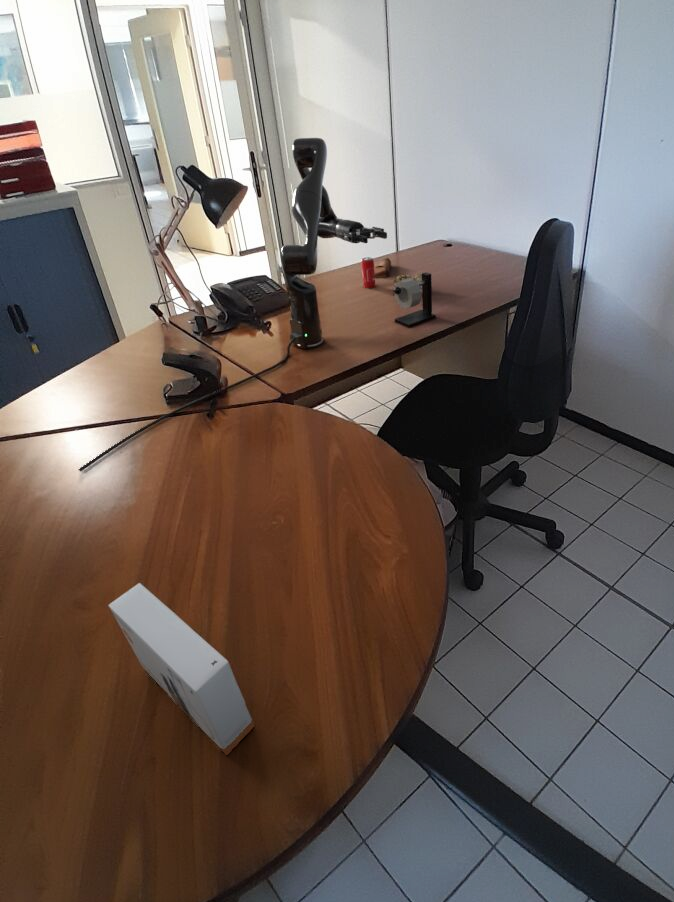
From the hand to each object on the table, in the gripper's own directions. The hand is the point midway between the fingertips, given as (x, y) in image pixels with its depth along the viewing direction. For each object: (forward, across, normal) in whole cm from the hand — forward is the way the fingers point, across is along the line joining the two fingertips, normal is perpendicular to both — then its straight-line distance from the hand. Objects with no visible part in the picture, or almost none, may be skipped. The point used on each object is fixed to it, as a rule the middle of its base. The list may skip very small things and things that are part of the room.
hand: (376, 237), depth 191 cm
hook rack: (+12, +7, +29) cm, 32 cm away
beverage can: (-32, +18, +29) cm, 47 cm away
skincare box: (+100, -112, +31) cm, 153 cm away
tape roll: (+12, +4, +23) cm, 26 cm away
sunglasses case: (-45, +35, +29) cm, 64 cm away
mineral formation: (-13, +26, +29) cm, 41 cm away
